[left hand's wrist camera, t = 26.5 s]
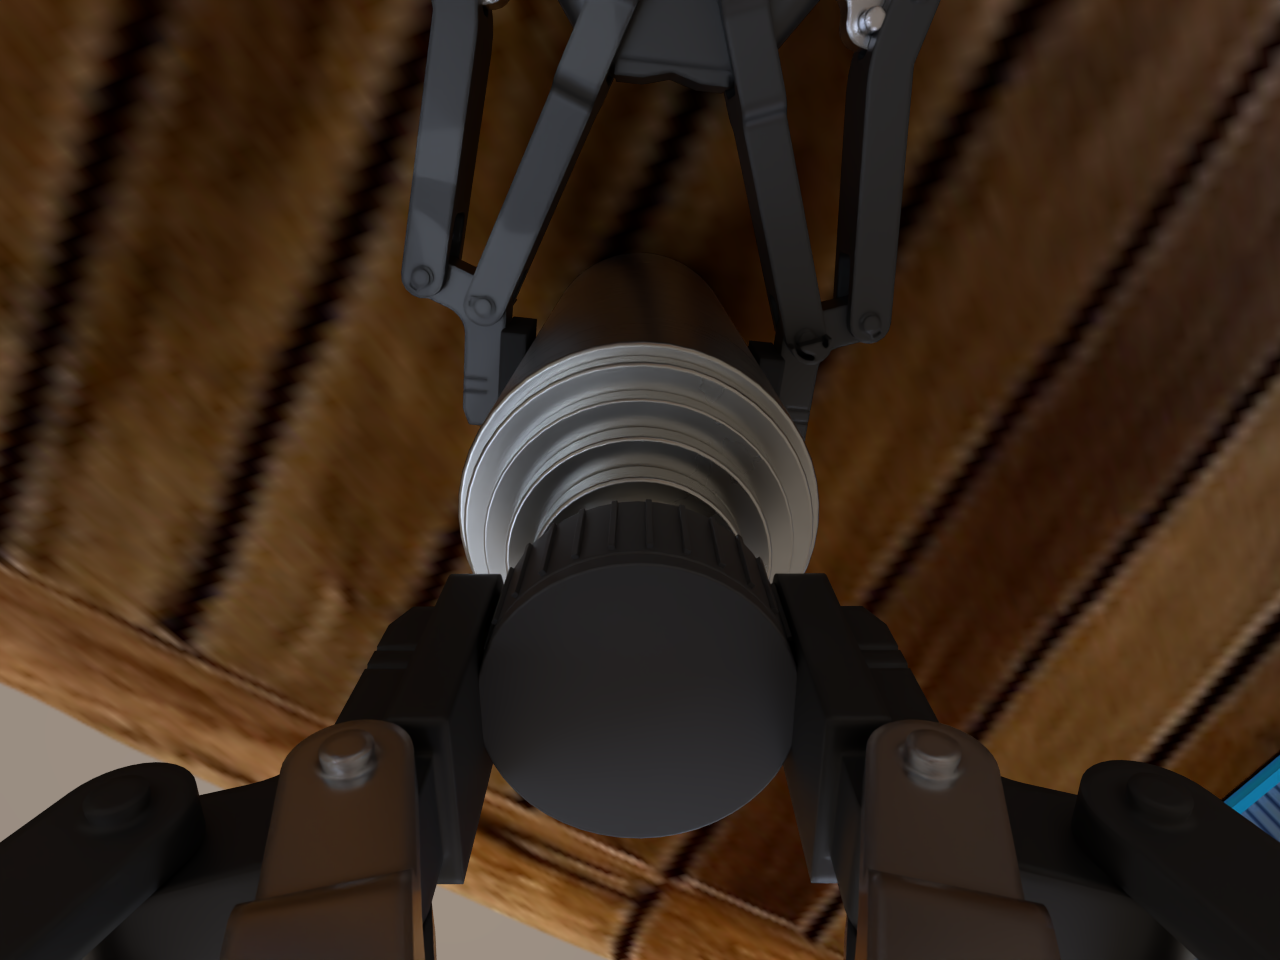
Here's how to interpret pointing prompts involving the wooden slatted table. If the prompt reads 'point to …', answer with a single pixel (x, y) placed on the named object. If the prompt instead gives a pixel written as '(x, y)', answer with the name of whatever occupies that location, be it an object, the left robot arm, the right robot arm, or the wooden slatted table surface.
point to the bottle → (638, 423)
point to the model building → (1261, 799)
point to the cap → (638, 672)
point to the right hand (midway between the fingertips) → (624, 527)
